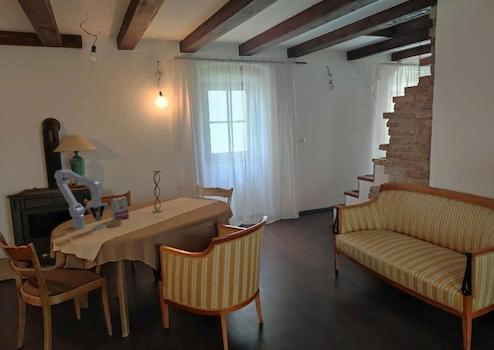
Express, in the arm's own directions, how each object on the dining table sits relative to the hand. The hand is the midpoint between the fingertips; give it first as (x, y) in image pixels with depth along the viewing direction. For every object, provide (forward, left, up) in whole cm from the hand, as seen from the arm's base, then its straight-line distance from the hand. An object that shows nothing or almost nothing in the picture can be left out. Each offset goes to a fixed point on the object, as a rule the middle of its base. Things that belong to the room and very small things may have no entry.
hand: (97, 217), depth 259 cm
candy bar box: (-17, +20, -9) cm, 28 cm away
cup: (0, +11, -9) cm, 14 cm away
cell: (0, 0, -2) cm, 2 cm away
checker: (0, 0, -9) cm, 9 cm away
